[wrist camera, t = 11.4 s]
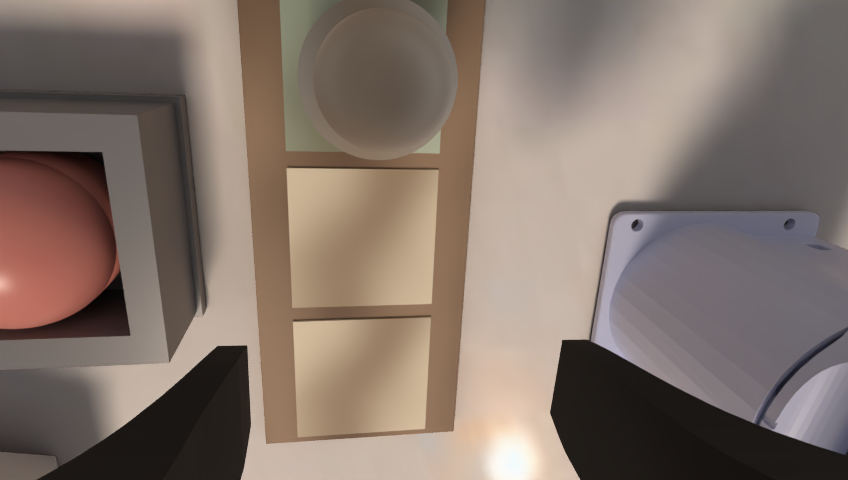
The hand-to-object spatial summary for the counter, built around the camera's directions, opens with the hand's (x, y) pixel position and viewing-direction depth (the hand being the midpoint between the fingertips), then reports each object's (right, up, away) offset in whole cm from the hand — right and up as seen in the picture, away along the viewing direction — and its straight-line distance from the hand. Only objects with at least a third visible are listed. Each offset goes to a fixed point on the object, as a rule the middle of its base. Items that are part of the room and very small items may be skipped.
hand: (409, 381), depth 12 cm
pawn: (-2, +9, +6) cm, 11 cm away
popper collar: (-12, +4, +7) cm, 14 cm away
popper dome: (-12, +4, +6) cm, 14 cm away
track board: (-2, +6, +8) cm, 10 cm away
